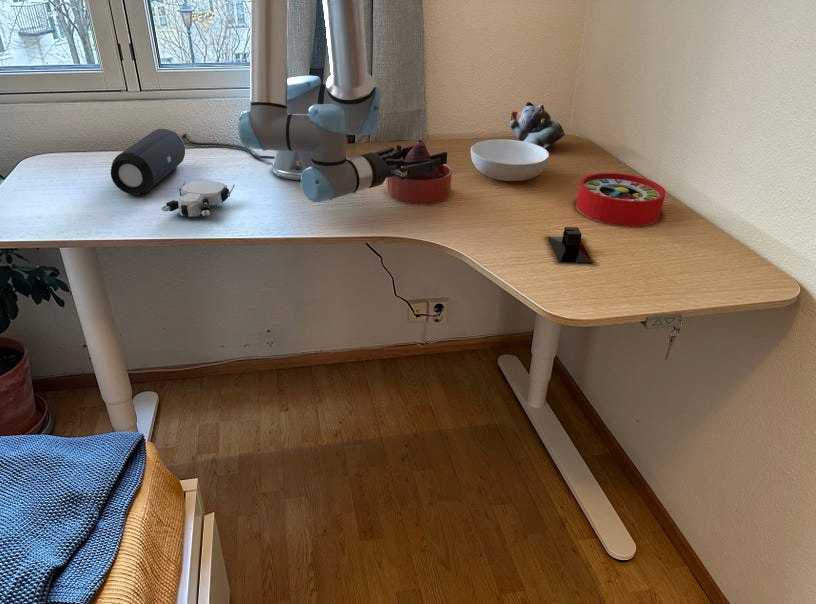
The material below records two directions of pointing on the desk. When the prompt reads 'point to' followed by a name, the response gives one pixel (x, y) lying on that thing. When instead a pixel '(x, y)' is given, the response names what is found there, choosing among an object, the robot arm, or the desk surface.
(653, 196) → the toy clock
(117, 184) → the portable speaker
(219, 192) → the robot toy
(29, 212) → the desk surface
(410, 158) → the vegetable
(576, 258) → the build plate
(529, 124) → the lucky cat figurine
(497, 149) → the serving bowl
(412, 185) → the red round tray
